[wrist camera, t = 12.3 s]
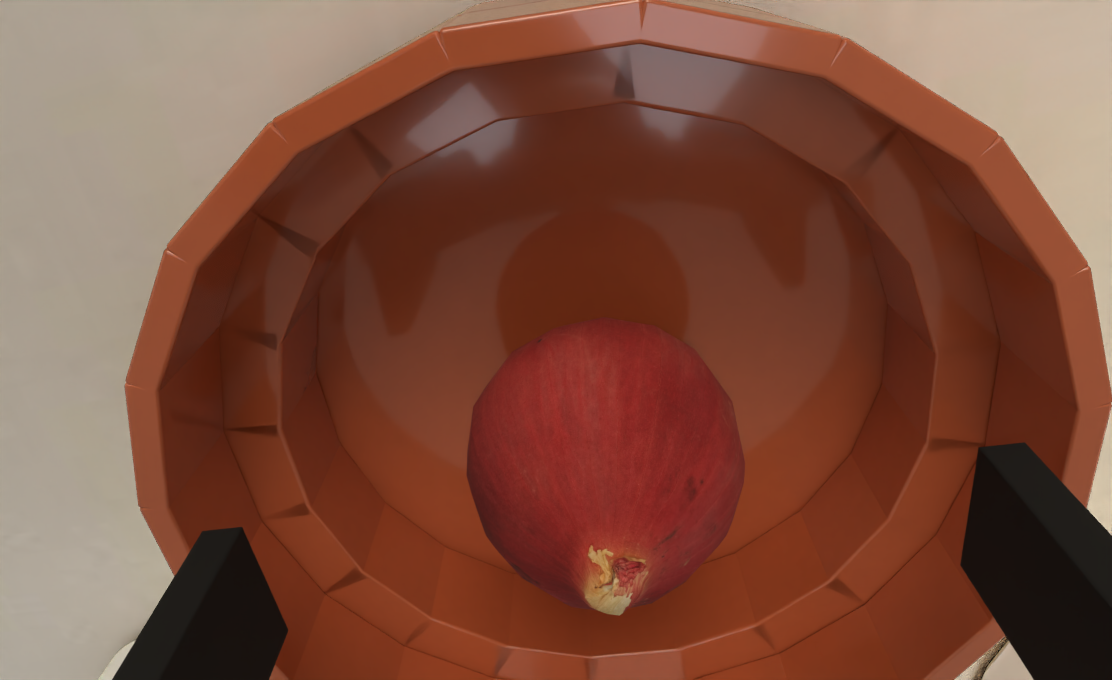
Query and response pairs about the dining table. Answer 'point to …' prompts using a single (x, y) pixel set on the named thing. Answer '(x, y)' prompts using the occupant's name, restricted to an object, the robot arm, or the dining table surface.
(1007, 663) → the kettle
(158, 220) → the dining table surface
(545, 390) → the onion
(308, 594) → the bowl
